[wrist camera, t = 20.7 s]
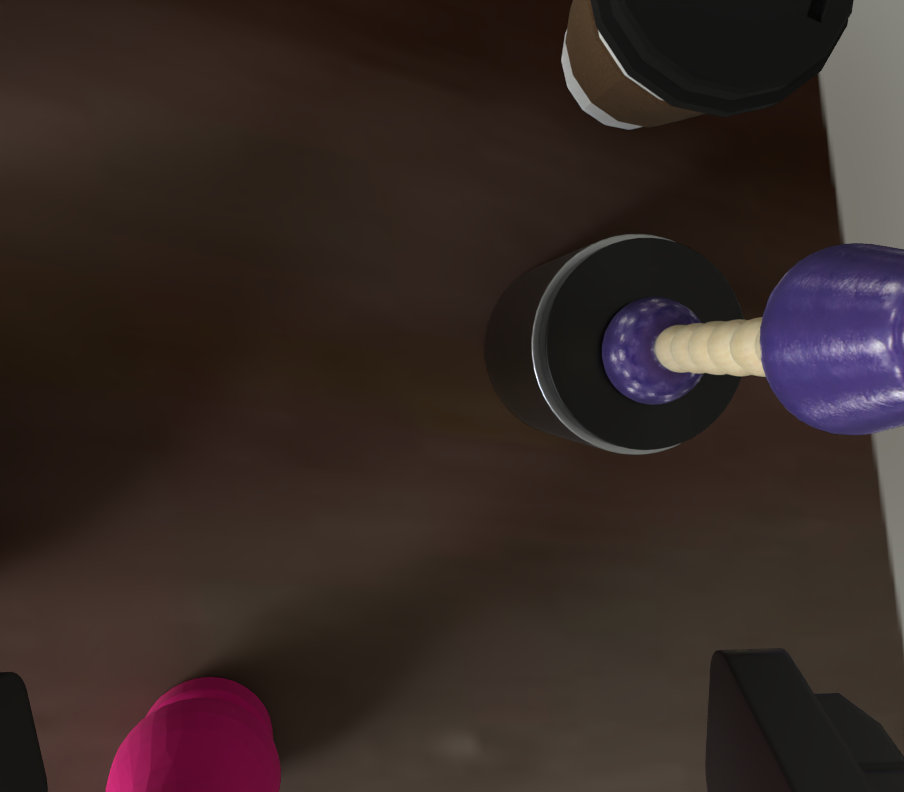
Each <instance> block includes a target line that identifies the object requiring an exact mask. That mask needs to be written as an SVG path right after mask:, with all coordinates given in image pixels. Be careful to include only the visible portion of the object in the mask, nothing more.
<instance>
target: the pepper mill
mask: <svg viewBox="0 0 904 792" xmlns="http://www.w3.org/2000/svg"><path fill="white" fill-rule="evenodd" d="M280 783H281V768H280V762H279V757H278V752H277V750H276V747H275V744H274V742H273V730H272V724H271V720H270V716H269V714H268V712H267V710H266V708H265V706H264V705H263V703H262V702H261V701H260V700H259V698H258V697H257V696H256V695H255V694H254V693H253V692H252V691H250V690H249V689H248V688H246V687H244V686H243V685H241V684H239V683H237V682H235V681H232V680H228V679H224V678H217V677H203V678H196V679H192V680H189V681H185V682H183V683H181V684H179V685H177V686H175V687H173V688H172V689H170V690H169V691H168V692H166V693H165V694H163V695H162V696H161V697H160V698H159V699H158V700H157V701H156V702H155V704H154V705H153V706H152V707H151V709H150V710H149V712H148V714H147V715H146V717H145V718H144V719H143V720H141V721H140V722H139V723H138V724H137V725H136V726H135V727H134V729H133V730H132V731H131V732H130V733H129V734H128V735H127V737H126V738H125V740H124V741H123V743H122V744H121V745H120V747H119V749H118V751H117V754H116V756H115V758H114V760H113V763H112V766H111V770H110V773H109V777H108V782H107V786H106V791H105V792H279V789H280Z"/></svg>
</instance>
